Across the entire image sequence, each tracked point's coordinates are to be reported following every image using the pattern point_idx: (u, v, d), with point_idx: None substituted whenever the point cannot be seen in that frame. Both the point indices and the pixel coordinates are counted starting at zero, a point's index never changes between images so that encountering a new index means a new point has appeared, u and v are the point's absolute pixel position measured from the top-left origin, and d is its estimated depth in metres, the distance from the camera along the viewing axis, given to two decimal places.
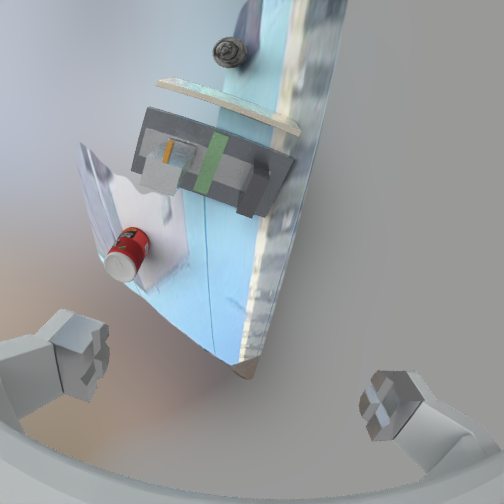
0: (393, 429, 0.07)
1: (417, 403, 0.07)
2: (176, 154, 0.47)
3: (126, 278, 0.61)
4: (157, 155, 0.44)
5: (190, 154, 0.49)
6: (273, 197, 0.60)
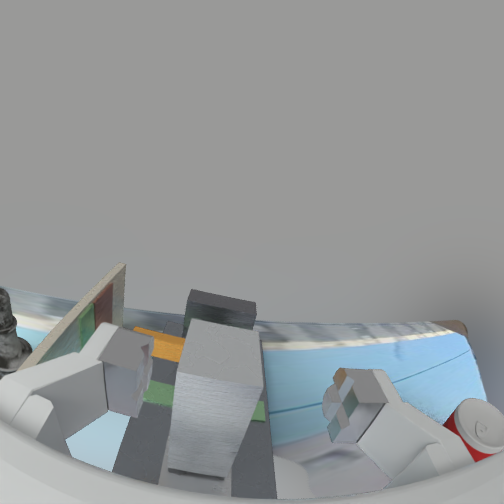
0: (355, 431, 0.07)
1: (379, 405, 0.06)
2: None
3: (487, 409, 0.19)
4: None
5: None
6: None
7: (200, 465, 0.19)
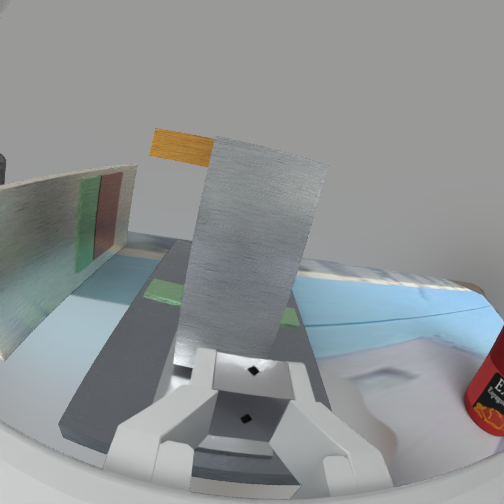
0: (262, 429, 0.06)
1: (283, 401, 0.06)
2: None
3: None
4: None
5: None
6: None
7: None
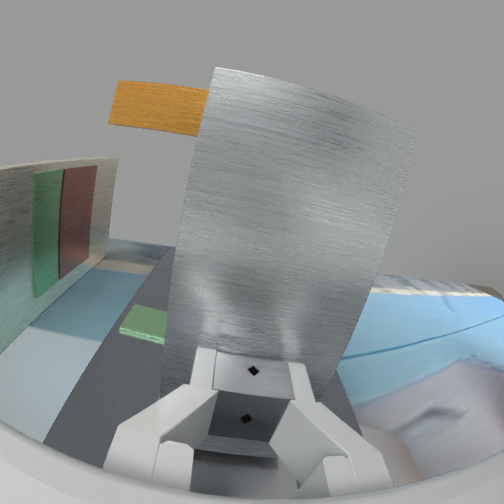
0: (262, 429, 0.06)
1: (283, 401, 0.06)
2: None
3: None
4: None
5: None
6: None
7: None
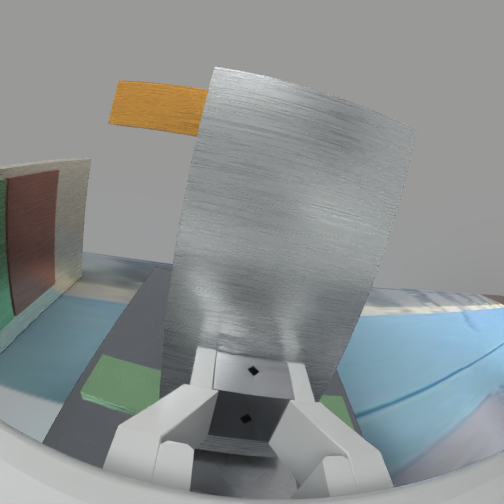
0: (262, 428, 0.06)
1: (283, 401, 0.06)
2: None
3: None
4: None
5: None
6: None
7: None
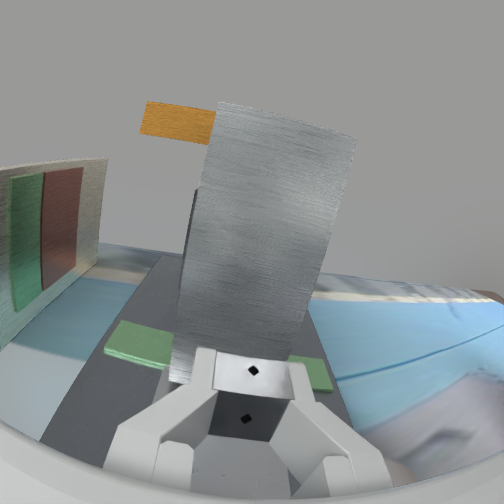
0: (262, 429, 0.06)
1: (284, 401, 0.06)
2: None
3: None
4: None
5: None
6: None
7: None
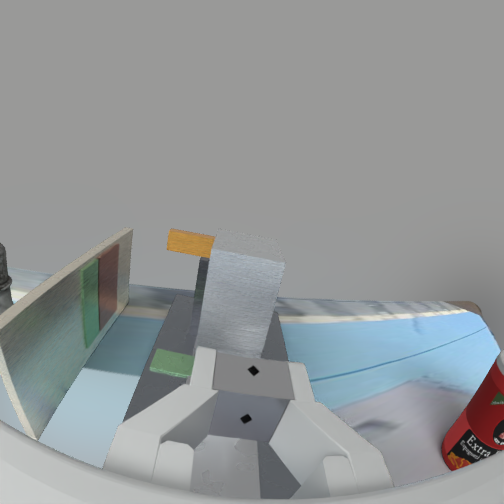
0: (262, 429, 0.06)
1: (283, 401, 0.06)
2: None
3: None
4: None
5: None
6: None
7: None
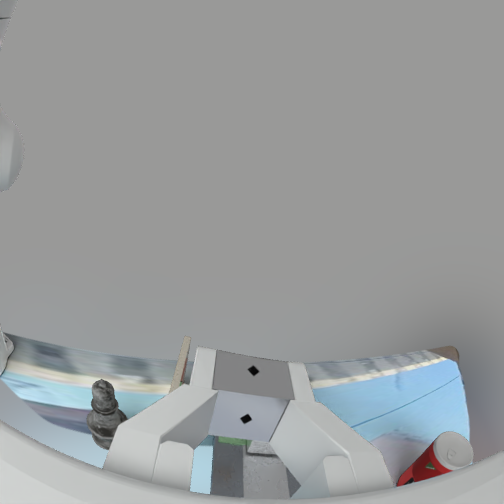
0: (262, 429, 0.06)
1: (283, 401, 0.06)
2: None
3: (458, 439, 0.28)
4: None
5: None
6: None
7: (268, 448, 0.34)
